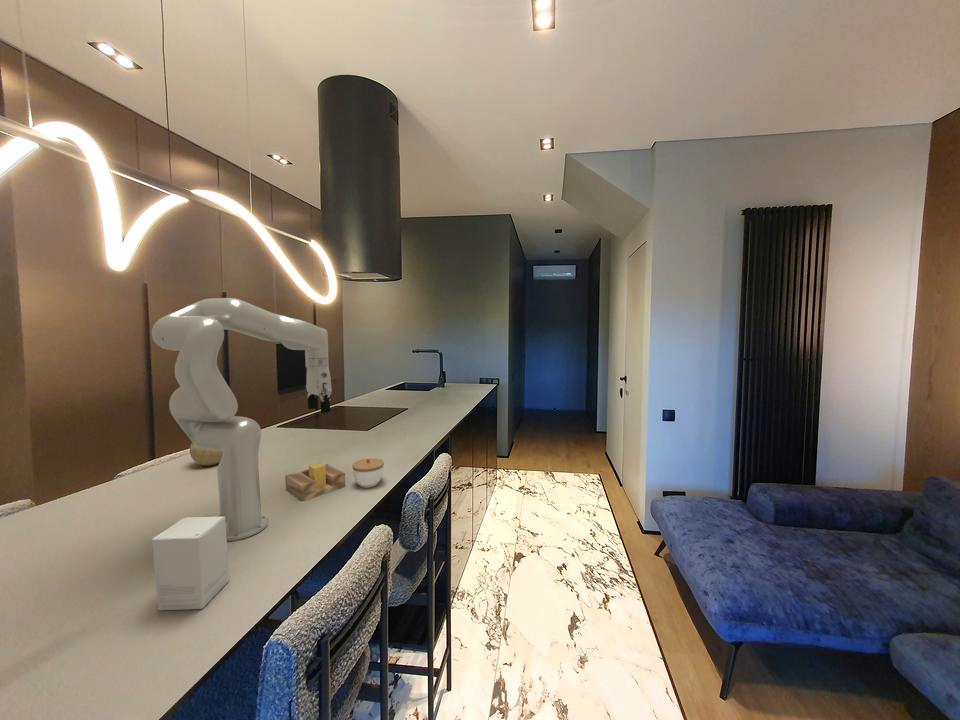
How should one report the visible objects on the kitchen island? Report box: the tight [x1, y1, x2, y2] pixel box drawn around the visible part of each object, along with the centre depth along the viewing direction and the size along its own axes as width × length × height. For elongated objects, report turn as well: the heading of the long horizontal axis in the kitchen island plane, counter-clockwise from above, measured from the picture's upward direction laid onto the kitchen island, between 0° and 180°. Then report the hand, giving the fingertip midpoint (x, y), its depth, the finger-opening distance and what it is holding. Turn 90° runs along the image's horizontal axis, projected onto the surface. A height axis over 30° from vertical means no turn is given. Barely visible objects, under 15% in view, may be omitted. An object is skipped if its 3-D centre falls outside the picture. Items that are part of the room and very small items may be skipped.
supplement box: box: [151, 516, 230, 611], centre depth 78 cm, size 9×9×15 cm
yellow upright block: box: [308, 462, 326, 488], centre depth 130 cm, size 4×4×7 cm
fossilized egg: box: [189, 441, 223, 467], centre depth 153 cm, size 13×13×15 cm
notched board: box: [284, 463, 346, 502], centre depth 131 cm, size 15×13×5 cm
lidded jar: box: [352, 457, 385, 489], centre depth 134 cm, size 11×11×9 cm
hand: (319, 410), depth 135 cm, fingers open, 9 cm apart
